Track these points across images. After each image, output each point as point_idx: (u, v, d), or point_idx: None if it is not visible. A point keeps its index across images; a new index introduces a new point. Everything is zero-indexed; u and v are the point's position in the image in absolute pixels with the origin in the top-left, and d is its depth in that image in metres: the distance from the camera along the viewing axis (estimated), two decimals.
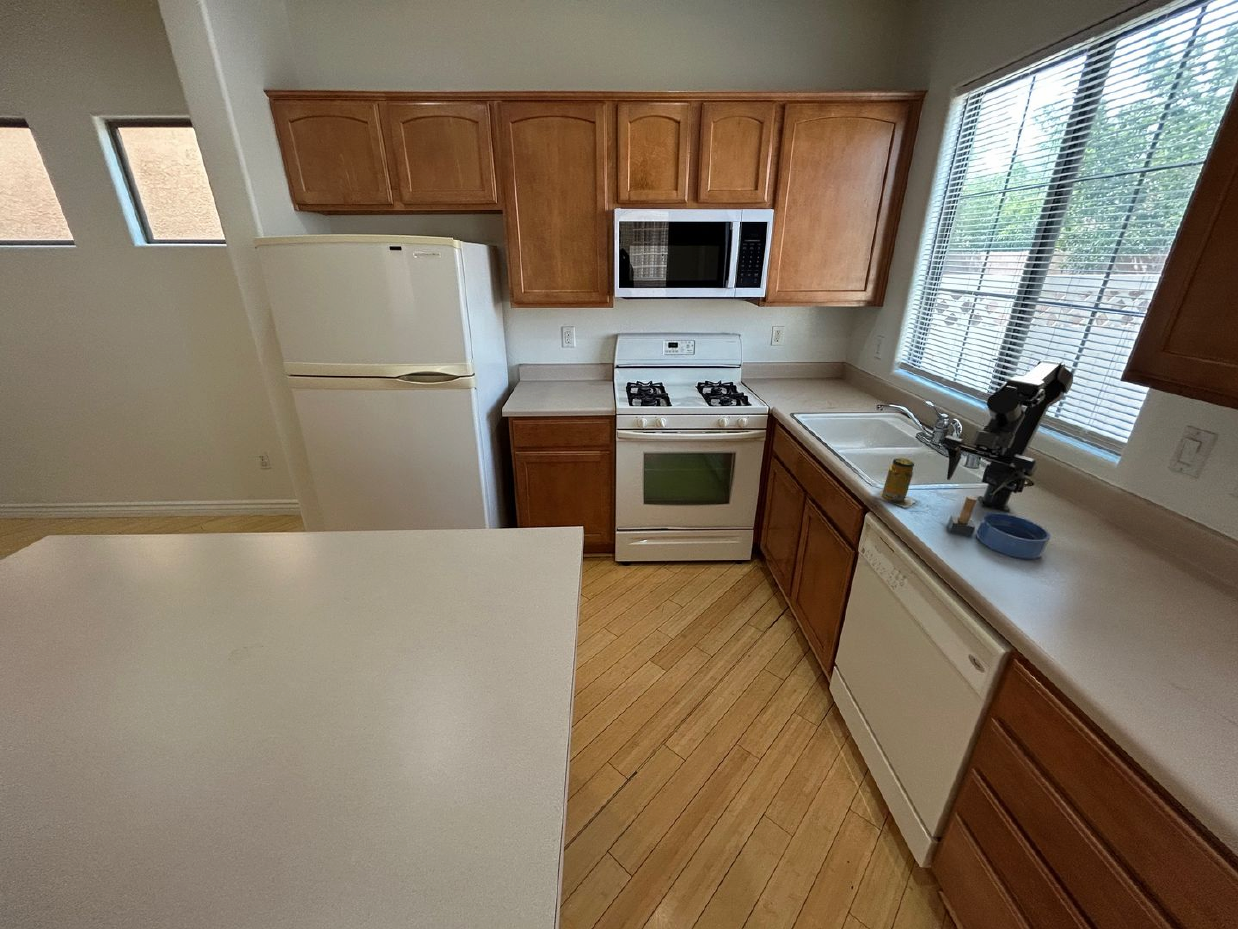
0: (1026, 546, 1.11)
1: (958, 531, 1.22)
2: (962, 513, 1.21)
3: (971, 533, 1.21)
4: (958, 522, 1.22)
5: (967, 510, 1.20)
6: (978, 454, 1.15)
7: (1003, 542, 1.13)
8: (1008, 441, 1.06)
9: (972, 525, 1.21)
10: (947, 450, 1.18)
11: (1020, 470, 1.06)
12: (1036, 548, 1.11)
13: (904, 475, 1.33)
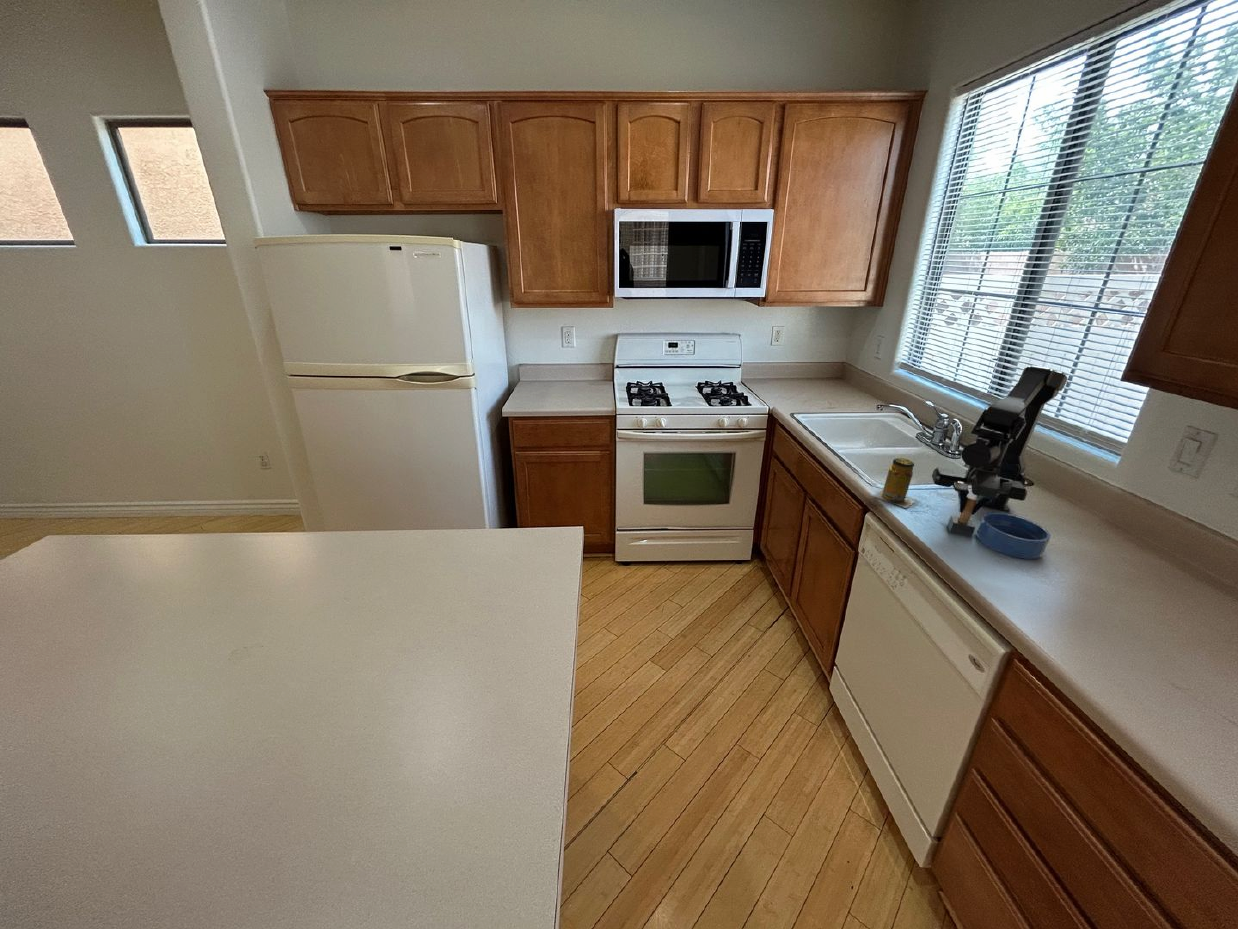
0: (1026, 546, 1.11)
1: (958, 531, 1.22)
2: (962, 513, 1.21)
3: (971, 533, 1.21)
4: (958, 522, 1.22)
5: (967, 510, 1.20)
6: (970, 484, 1.18)
7: (1003, 542, 1.13)
8: (1008, 490, 1.09)
9: (972, 525, 1.21)
10: None
11: (998, 498, 1.15)
12: (1036, 548, 1.11)
13: (904, 475, 1.33)
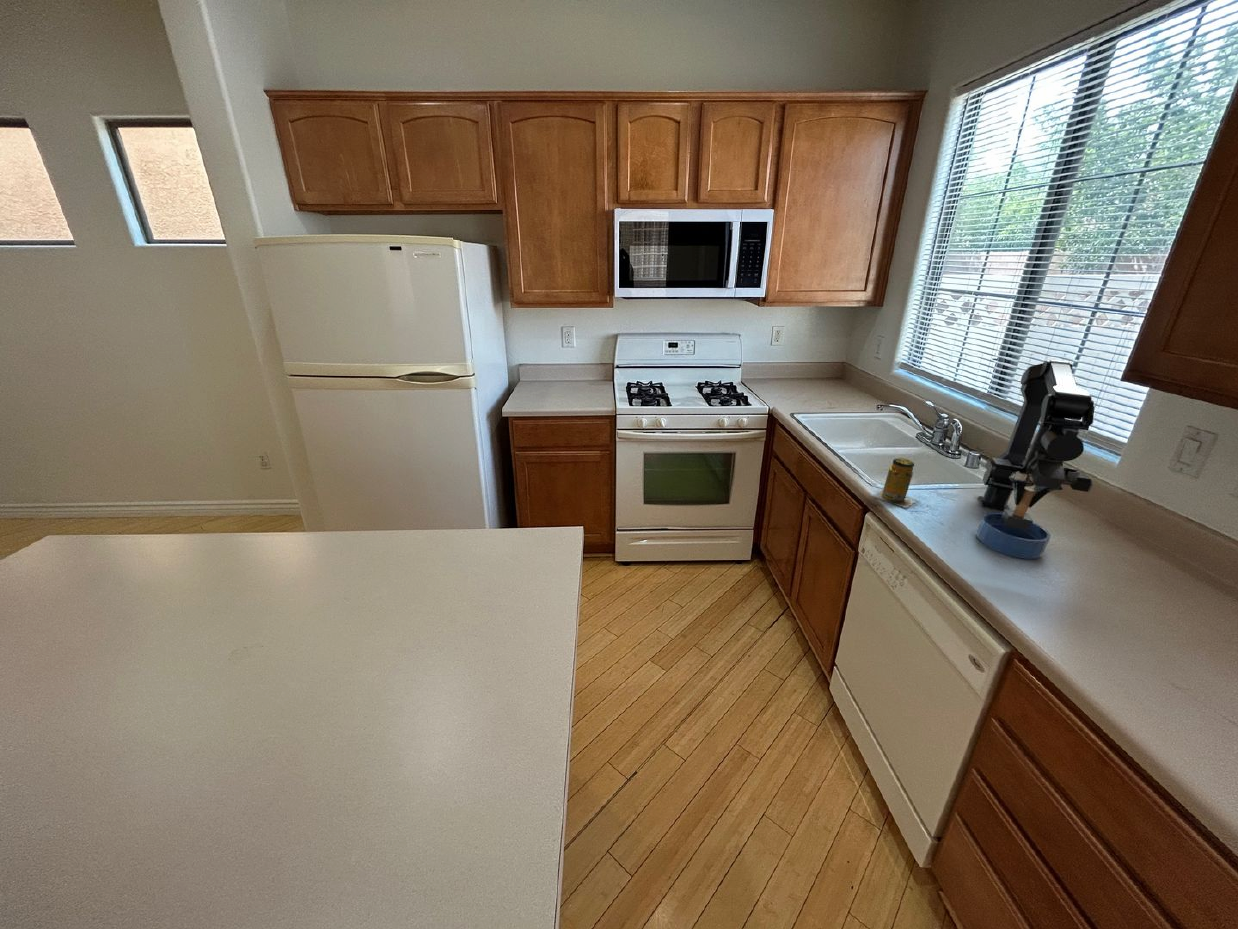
0: (1026, 546, 1.11)
1: (1014, 525, 1.15)
2: (1018, 506, 1.14)
3: (1028, 527, 1.13)
4: (1014, 515, 1.15)
5: (1024, 503, 1.13)
6: (1028, 475, 1.11)
7: (1003, 542, 1.13)
8: (1074, 481, 1.02)
9: (1029, 518, 1.13)
10: (1015, 481, 1.11)
11: (1060, 489, 1.07)
12: (1036, 548, 1.11)
13: (904, 475, 1.33)
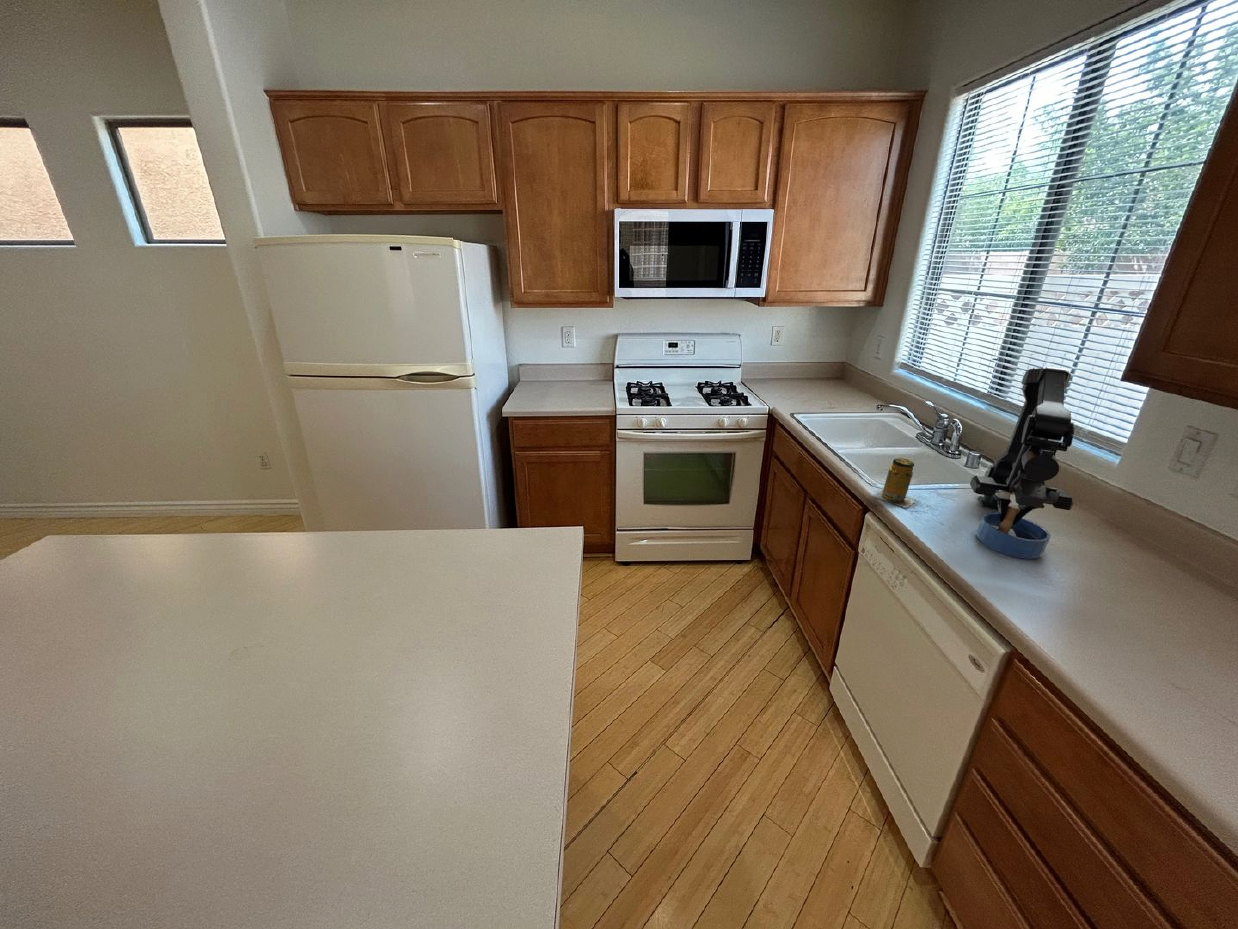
0: (1026, 546, 1.11)
1: None
2: (1003, 522, 1.16)
3: None
4: None
5: (1008, 519, 1.15)
6: None
7: (1003, 542, 1.13)
8: (1055, 500, 1.05)
9: (1013, 535, 1.16)
10: None
11: (1042, 507, 1.10)
12: (1036, 548, 1.11)
13: (904, 475, 1.33)
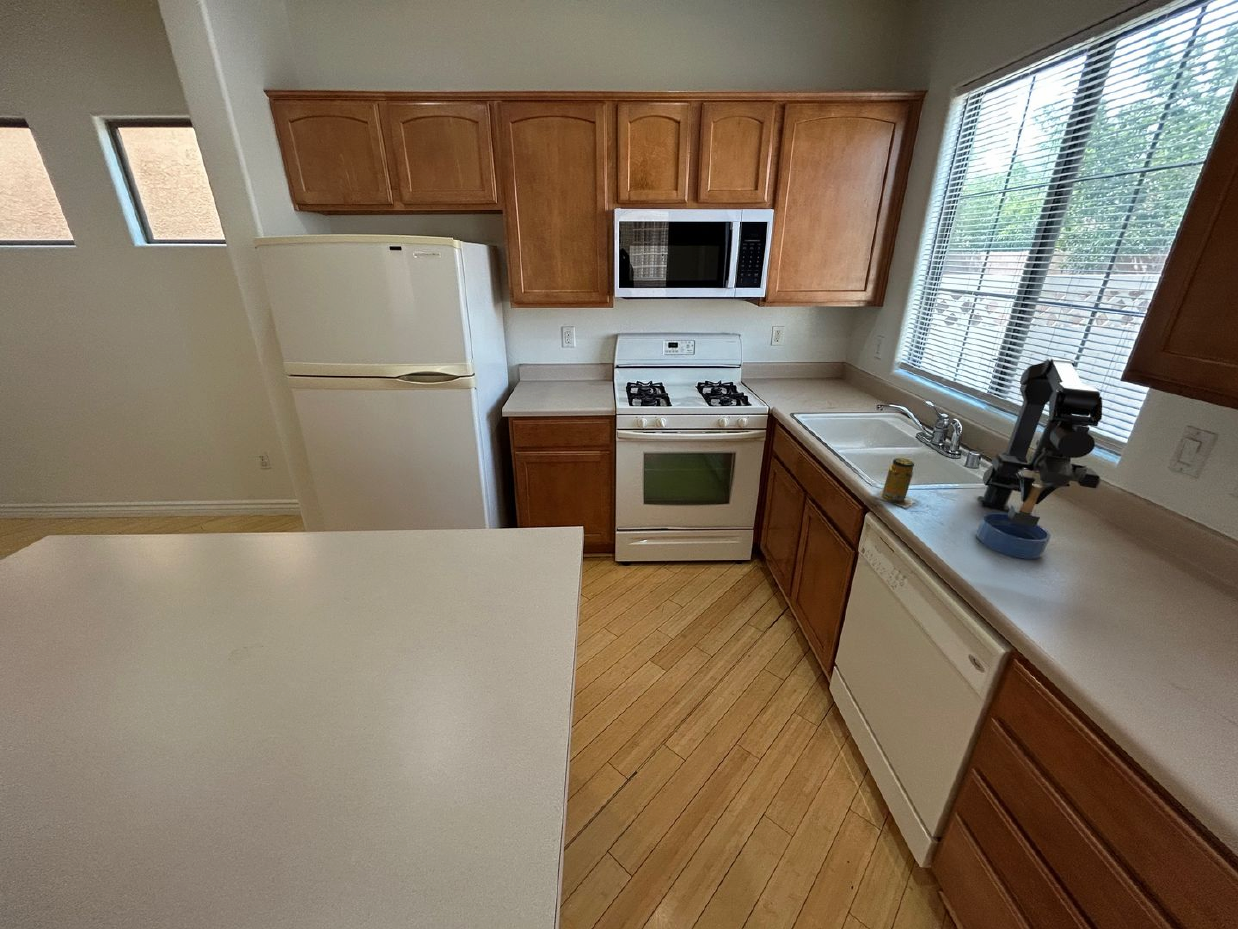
0: (1026, 546, 1.11)
1: (1020, 521, 1.14)
2: (1025, 502, 1.13)
3: (1035, 524, 1.13)
4: (1020, 512, 1.14)
5: (1031, 499, 1.12)
6: None
7: (1003, 542, 1.13)
8: (1082, 477, 1.01)
9: (1036, 515, 1.13)
10: None
11: (1068, 486, 1.07)
12: (1036, 548, 1.11)
13: (904, 475, 1.33)
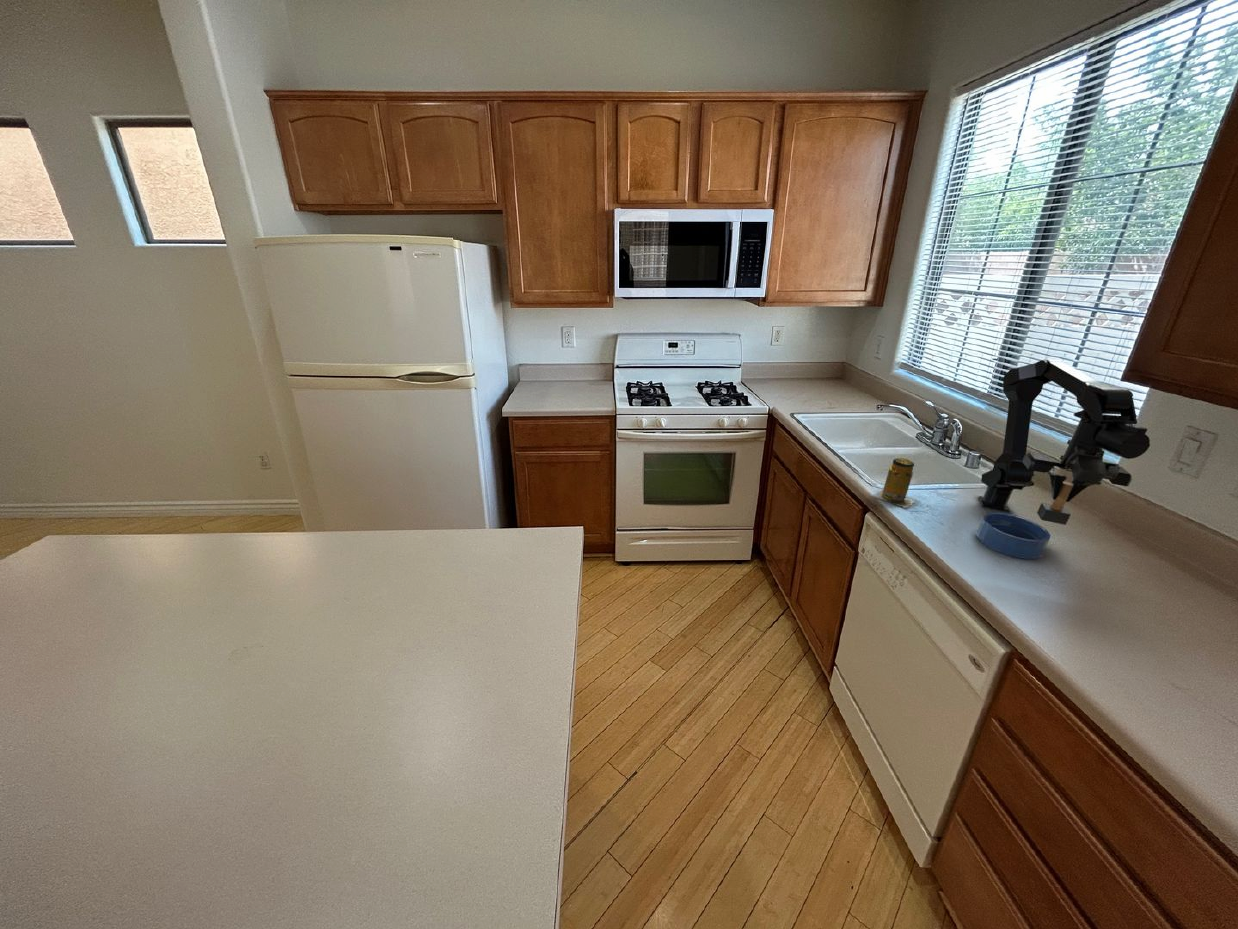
0: (1026, 546, 1.11)
1: (1051, 518, 1.17)
2: (1056, 500, 1.16)
3: (1065, 521, 1.15)
4: (1051, 509, 1.17)
5: (1062, 497, 1.15)
6: (1067, 469, 1.13)
7: (1003, 542, 1.13)
8: (1115, 475, 1.04)
9: (1067, 512, 1.15)
10: None
11: (1099, 484, 1.10)
12: (1036, 548, 1.11)
13: (904, 475, 1.33)
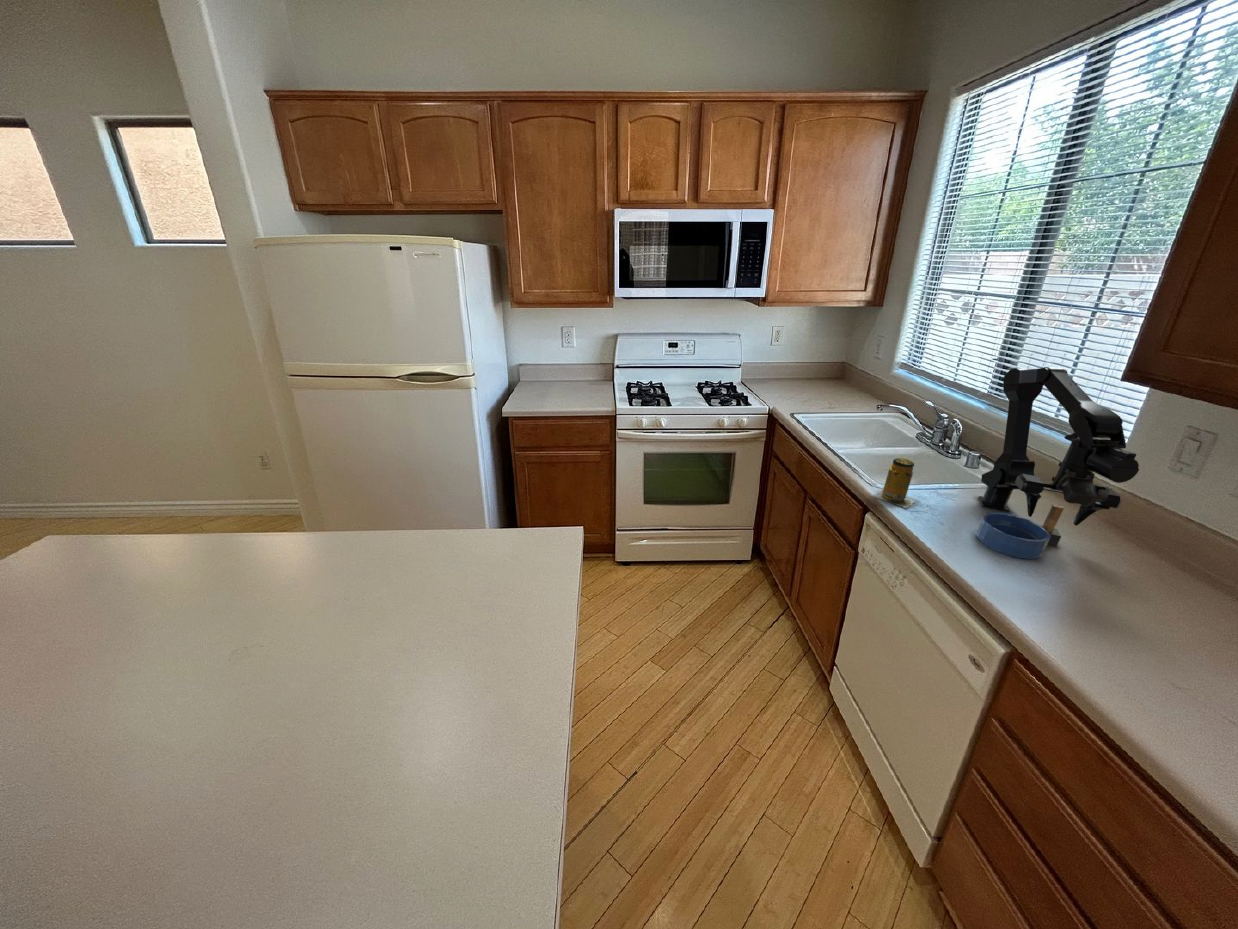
0: (1026, 546, 1.11)
1: None
2: (1047, 521, 1.19)
3: (1056, 542, 1.18)
4: None
5: (1052, 519, 1.18)
6: None
7: (1003, 542, 1.13)
8: (1105, 498, 1.06)
9: (1058, 534, 1.18)
10: None
11: None
12: (1036, 548, 1.11)
13: (904, 475, 1.33)
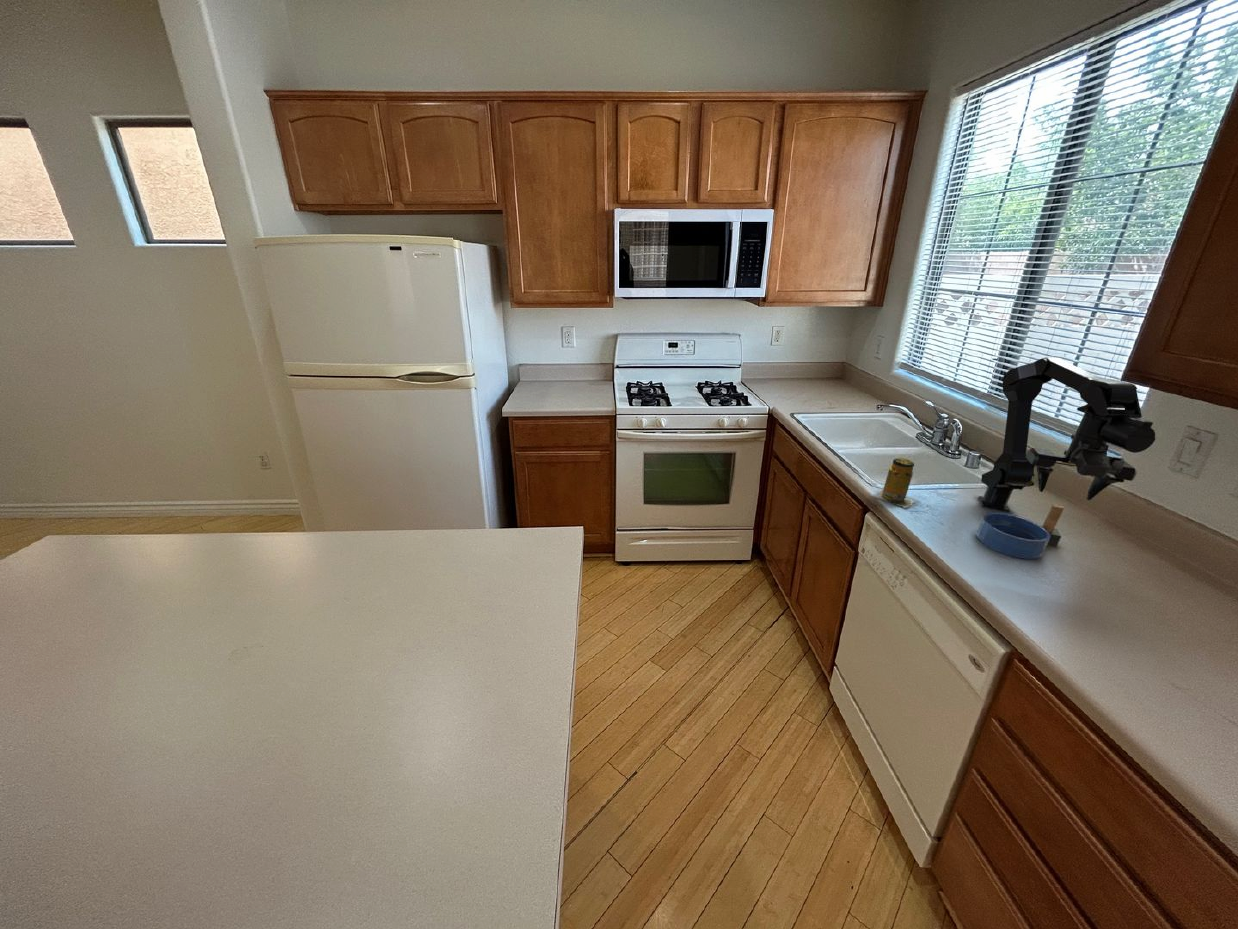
0: (1026, 546, 1.11)
1: None
2: (1047, 521, 1.19)
3: (1056, 542, 1.18)
4: None
5: (1053, 519, 1.18)
6: None
7: (1003, 542, 1.13)
8: (1120, 469, 1.03)
9: (1058, 534, 1.18)
10: (1040, 468, 1.14)
11: None
12: (1036, 548, 1.11)
13: (904, 475, 1.33)
